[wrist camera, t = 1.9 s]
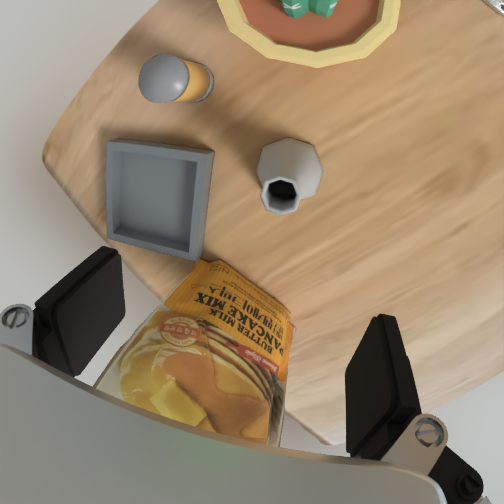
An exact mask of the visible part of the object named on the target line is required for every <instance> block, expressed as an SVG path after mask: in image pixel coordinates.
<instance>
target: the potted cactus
mask: <svg viewBox="0 0 504 504" xmlns="http://www.w3.org/2000/svg"><path fill="white" fill-rule="evenodd" d="M217 2H218V4H219V7H220V9H221V11H222V14H223V16H224V19H225V21H226V23H227V26H228V28H229V31H230V32H232V33H233V34H235V35H236V36H238V37H239V38H240V39H242V40H243V41H245V42H246V43H248V44H249V45H250V46H252V47H253V48H254V49H256V50H257V51H258V52H260V53H261V54H262V55H264V56H265V57H266V58H269V59H275V60H281V61H286V62H291V63H296V64H301V65H305V66H310V67H314V68H321V67H325V66H329V65H333V64H338V63H342V62H347V61H352V60H357V59H362V58H366V57H367V56H368V55H369V54H370V53H371V52H372V51H373V50H374V49H375V48H377V47H378V46H379V45H380V44H381V43H382V42H383V41H384V40H385V39H386V38H387V37H389V36H390V35H391V34H392V33H393V32H394V31H395V30H396V28H397V22H398V15H399V9H400V2H401V0H217Z"/></svg>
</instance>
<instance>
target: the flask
mask: <svg viewBox="0 0 504 504" xmlns="http://www.w3.org/2000/svg"><path fill="white" fill-rule="evenodd" d="M256 172H257V175H258V177H259V180H260V182H261V185H262V191H261V194H260V197H261V199H262V202H263V204H264V207H265V209H266V210H267V211H270V212H273V213H276V214H279V215H283V214H286V213H290V212H293V211H296V210H297V207H298V204H299V201H300V200H301V199H304V198H308V197H311V196H314V195H315V194H316V191H317V188H318V185H319V182H320V180H321V177H322V174H323V168H322V165H321V163H320V160H319V157H318V154H317V151H316V149H315V146H314V145H311V144H308V143H304V142H301V141H298V140H295V139H292V138H285V139H282V140H279V141H277V142H274V143H271V144H268V145H265V146H263V148H262V151H261V155H260V159H259V162H258V166H257V170H256Z"/></svg>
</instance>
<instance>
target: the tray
mask: <svg viewBox="0 0 504 504" xmlns="http://www.w3.org/2000/svg"><path fill="white" fill-rule="evenodd" d="M214 152H215V151H211V150H205V149H199V148H192V147H185V146H178V145H171V144H163V143H155V142H147V141H138V140H128V139H114V140H110V141H107V147H106V220H107V238H108V239H112V240H115V241H119V242H123V243H126V244H130V245H134V246H137V247H141V248H145V249H149V250H152V251H156V252H160V253H164V254H168V255H171V256H175V257H179V258H183V259H187V260H191V261H195V262H197V260H198V259H199V257H200V256H201V255H202V253H203V244H204V235H205V225H206V216H207V207H208V199H209V190H210V182H211V174H212V166H213V159H214Z"/></svg>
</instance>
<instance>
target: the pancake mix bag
mask: <svg viewBox="0 0 504 504" xmlns="http://www.w3.org/2000/svg"><path fill="white" fill-rule="evenodd" d="M289 318H290V312H289V311H288V310H287V309H286V308H285V306H284V305H283V304H281V303H280V302H278V301H277V300H276V299H274V298H273V297H272V296H270V295H269V294H268V293H266V292H265V291H264V290H262V289H261V288H259V287H258V286H257V285H255V284H254V283H252V282H251V281H250V280H248V279H247V278H245V277H244V276H243V275H242V274H241V273H239V272H238V271H237V270H235V269H234V268H233V267H231V266H230V265H229V264H227V263H225V262H224V261H222V260H220V259H218V260H215V261H212V262H207V261H204V260H202V259H200V258H199V259H198V260H197V262H196V263H195V267H194V270H193V271H192V272H191V273H189V274H188V275H187V276H186V277H185V278H184V279H183V280H182V281H181V282H180V283H179V284H178V285H177V286H176V287H175V288H174V289H173V290H172V291H171V292H170V294H169V295H168V296H167V297H166V298H165V300H164V301H163V302H162V303H161V304H160V305H159V306H158V307H157V308H156V309H155V310H154V311H153V312H152V313H151V314H150V315H149V316H148V318H147V319H146V320H145V321H144V322H143V323H142V324H141V325H140V326H139V327H138V328H137V329H136V330H135V332H134V333H133V334H132V336H131V337H130V339H129V340H128V341H127V342H126V343H124V344H123V345H122V346H121V347H120V348H119V350H118V351H117V352H116V354H115V355H114V356H113V358H112V359H111V361H110V362H109V364H108V365H107V366H106V368H105V369H104V371H103V372H102V374H101V375H100V376H99V378H98V379H97V381H96V382H95V384H94V385H93V387H94V388H96V389H98V390H100V391H102V392H105V393H107V394H109V395H111V396H114V397H116V398H118V399H121V400H123V401H125V402H128V403H130V404H133V405H135V406H138V407H140V408H143V409H146V410H148V411H151V412H153V413H156V414H159V415H162V416H165V417H167V418H170V419H173V420H176V421H179V422H182V423H185V424H189V425H192V426H195V427H198V428H202V429H205V430H209V431H212V432H216V433H219V434H223V435H227V436H231V437H235V438H239V439H243V440H247V441H252V442H256V443H261V444H266V445H271V446H276V447H280V439H281V433H282V427H283V420H284V409H285V393H286V381H287V374H288V357H289V352H290V348H291V344H292V339H293V336H294V333H295V331H296V328H295V327H294V326H293V325H292V324H291V323H290V322H289Z"/></svg>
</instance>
